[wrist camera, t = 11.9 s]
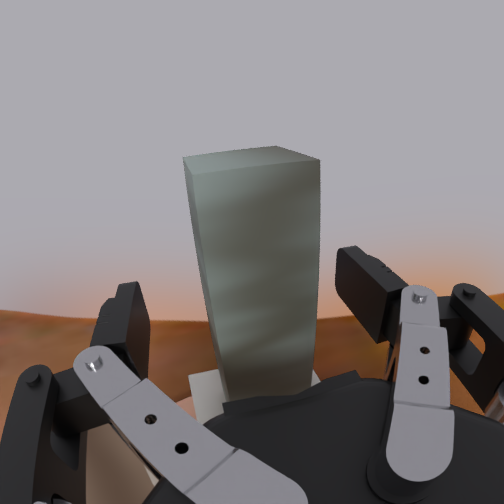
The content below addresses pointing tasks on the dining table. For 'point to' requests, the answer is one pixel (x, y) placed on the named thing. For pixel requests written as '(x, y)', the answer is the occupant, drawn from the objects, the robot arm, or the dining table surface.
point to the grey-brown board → (114, 470)
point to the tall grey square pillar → (256, 271)
